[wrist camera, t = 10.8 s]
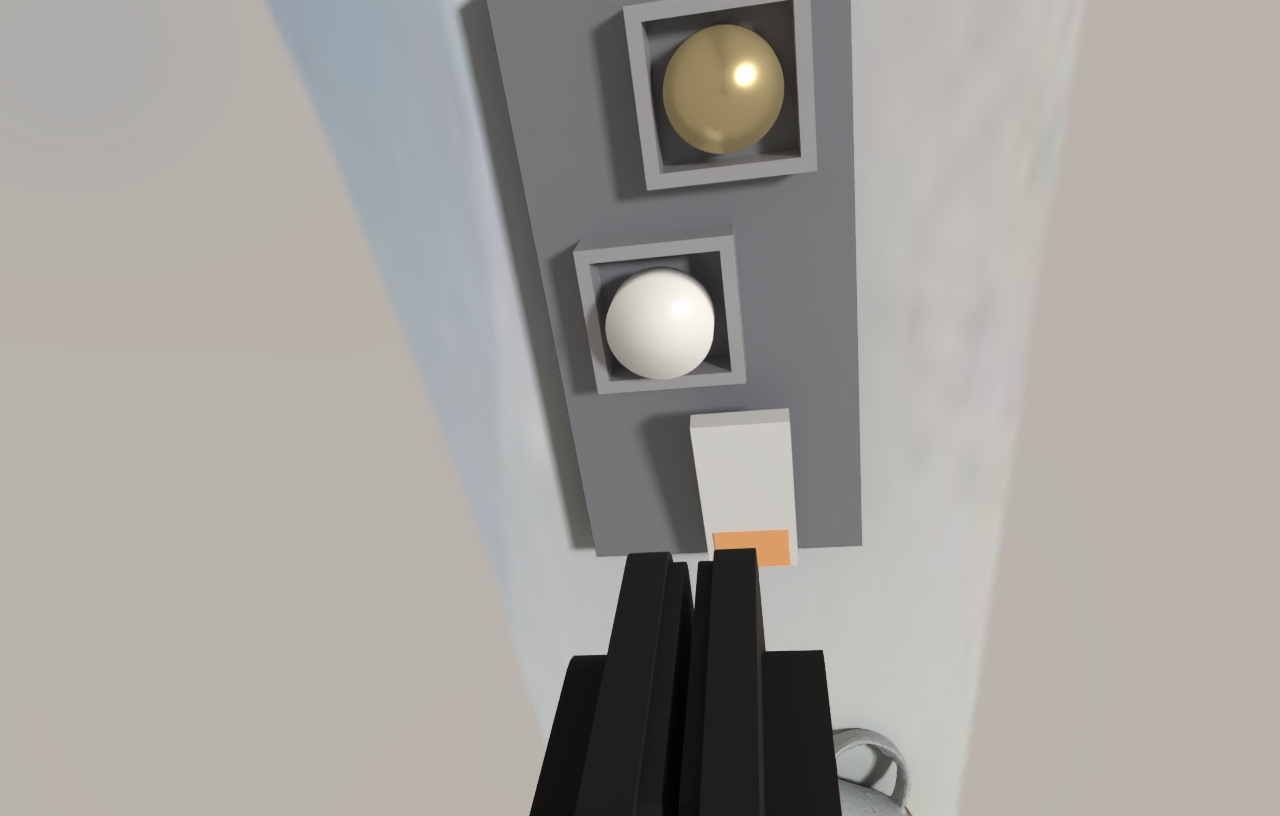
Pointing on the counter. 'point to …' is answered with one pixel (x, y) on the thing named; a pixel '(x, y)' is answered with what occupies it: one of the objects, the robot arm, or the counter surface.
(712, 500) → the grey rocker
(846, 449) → the control panel
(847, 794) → the ceramic mug
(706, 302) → the white button
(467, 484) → the counter surface
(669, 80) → the brass button
